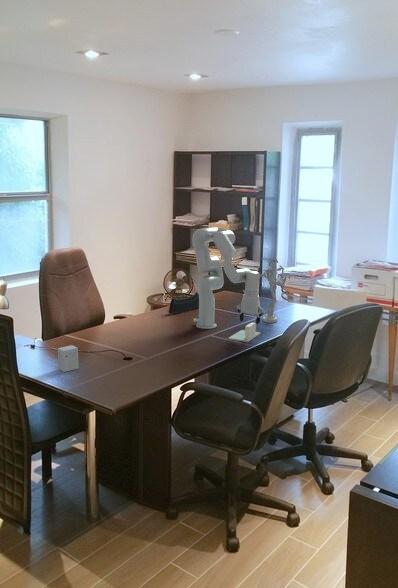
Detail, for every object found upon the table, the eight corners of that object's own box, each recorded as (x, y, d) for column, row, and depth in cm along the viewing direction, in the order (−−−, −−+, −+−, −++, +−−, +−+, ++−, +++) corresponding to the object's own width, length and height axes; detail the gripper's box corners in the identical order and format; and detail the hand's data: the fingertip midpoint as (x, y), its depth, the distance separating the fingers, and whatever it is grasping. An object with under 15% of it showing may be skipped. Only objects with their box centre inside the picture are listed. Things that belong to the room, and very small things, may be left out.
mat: (228, 339, 331) (228, 337, 331) (241, 331, 349) (241, 329, 349) (247, 342, 326) (247, 340, 326) (260, 333, 344) (260, 332, 343)
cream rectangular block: (244, 338, 331) (245, 326, 330) (251, 334, 340) (251, 322, 338) (249, 338, 330) (249, 326, 328) (255, 334, 339) (256, 322, 337)
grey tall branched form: (256, 313, 391) (258, 254, 383) (291, 316, 385) (294, 256, 377) (248, 324, 365) (250, 260, 357) (286, 327, 359) (289, 262, 351)
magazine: (169, 302, 381) (198, 283, 401) (165, 301, 383) (195, 283, 403) (174, 325, 388) (203, 305, 408) (171, 324, 390) (199, 305, 410)
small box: (73, 365, 284) (72, 344, 282) (78, 368, 280) (78, 347, 278) (58, 369, 279) (57, 348, 277) (63, 372, 275) (62, 350, 273)
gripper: (234, 292, 330) (233, 321, 334) (263, 296, 323) (261, 326, 327) (240, 289, 337) (238, 318, 341) (268, 294, 329) (266, 323, 333)
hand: (249, 322), depth 334 cm, fingers open, 9 cm apart
